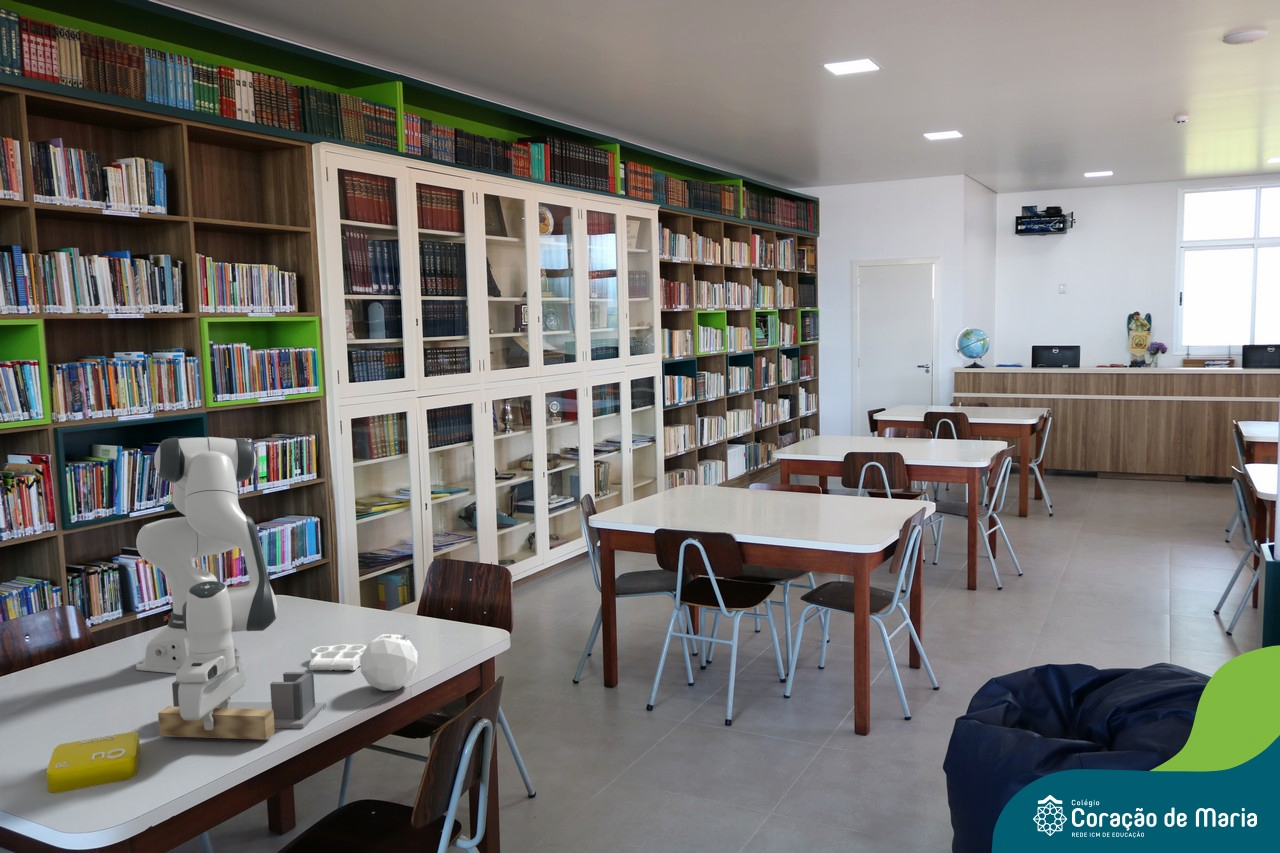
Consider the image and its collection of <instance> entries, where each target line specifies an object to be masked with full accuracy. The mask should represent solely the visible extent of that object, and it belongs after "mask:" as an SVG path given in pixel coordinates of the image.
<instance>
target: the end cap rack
mask: <svg viewBox="0 0 1280 853" xmlns="http://www.w3.org/2000/svg"><path fill="white" fill-rule="evenodd" d="M282 679H283V681H272V682H271V683H269V687H270V702H268V701H267V702H266V701H264V702H263V701H261V702H260V701H230V705H229V708H234V709H265V710H273V713H274V729H304V728H305V727H307V725H309V724H310V723H311V722H312V721H313V720H314V719H315V718H316V717H317V716H318V715H319V714H320V713H321V712H322V711H323V710H322V708H324V707H325V706H326V707H327V703H326V702H316V697H315V696H316V695H315V681H314V680H315V679H314V672H313V671H302V672H301V671H285V672H284V673H282ZM180 683H181V682H177V681H176V680H175V681H173V682H171V687H172V688H171V689H172V690H171V691H172V699H173V700H172V702H173V704H172V705H173V707H179V700H178V689H179V685H180ZM326 707H325V708H326ZM215 708H219V705H218V706H217V707H215ZM325 708H324V709H325ZM321 710H322V711H321ZM320 711H321V712H320ZM319 712H320V713H319ZM318 713H319V714H318ZM317 714H318V715H317ZM316 715H317V716H316ZM315 716H316V717H315ZM314 717H315V718H314ZM313 718H314V719H313ZM312 719H313V720H312ZM311 720H312V721H311ZM310 721H311V722H310ZM309 722H310V723H309Z"/></svg>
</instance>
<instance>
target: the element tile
mask: <svg viewBox="0 0 1280 853" xmlns="http://www.w3.org/2000/svg"><path fill="white" fill-rule="evenodd" d="M139 736H140V735H139V733H138V732H136V731H129V732H123V733H118V734H112V735H111V734H110V735H105V736H99V737H96V738H90V739H83V740H78V741H72V742H67V743H66V742H65V743H60V744H58V745H57V746H56V747H55V748H54V749H53V750H52V752H51V757H50V760H49V762H48V765H47V769H46V771H45V772H46V782H47V783H46V784H47V786H46V787H47V791H48V793H50V794H59V793H65V792H68V791H74V790H75V791H76V790H80V789H85V788H91V787H96V786H101V785H105V784H110V783H117V782H121V781H126V780H130V779H132V778H134V777H136V776H137V775H138V770H139V761H140V753H141V752H140V738H139Z"/></svg>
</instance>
